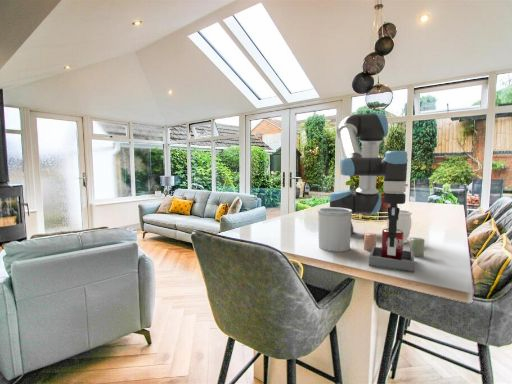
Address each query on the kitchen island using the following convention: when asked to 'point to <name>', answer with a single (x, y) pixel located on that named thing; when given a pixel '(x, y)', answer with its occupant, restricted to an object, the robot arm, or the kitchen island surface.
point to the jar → (403, 223)
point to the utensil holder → (334, 228)
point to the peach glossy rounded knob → (369, 241)
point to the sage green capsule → (417, 247)
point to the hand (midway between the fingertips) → (391, 251)
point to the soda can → (398, 244)
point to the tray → (392, 260)
